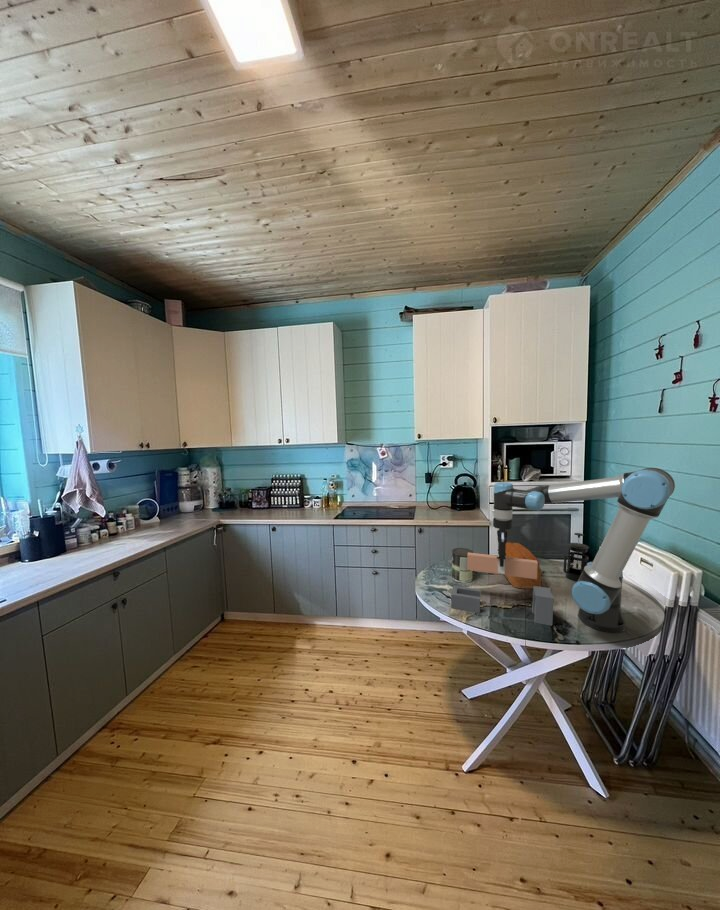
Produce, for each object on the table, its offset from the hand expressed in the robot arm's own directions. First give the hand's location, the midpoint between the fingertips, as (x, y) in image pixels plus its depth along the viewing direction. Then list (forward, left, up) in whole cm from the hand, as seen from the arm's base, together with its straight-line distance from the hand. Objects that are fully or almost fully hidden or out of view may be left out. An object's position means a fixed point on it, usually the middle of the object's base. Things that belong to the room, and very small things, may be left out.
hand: (501, 571), depth 153 cm
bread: (-9, -30, -14) cm, 34 cm away
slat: (0, 0, -1) cm, 1 cm away
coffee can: (+17, -18, -14) cm, 29 cm away
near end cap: (-15, +9, -14) cm, 22 cm away
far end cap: (+14, +9, -14) cm, 21 cm away
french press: (-37, -38, -14) cm, 55 cm away
